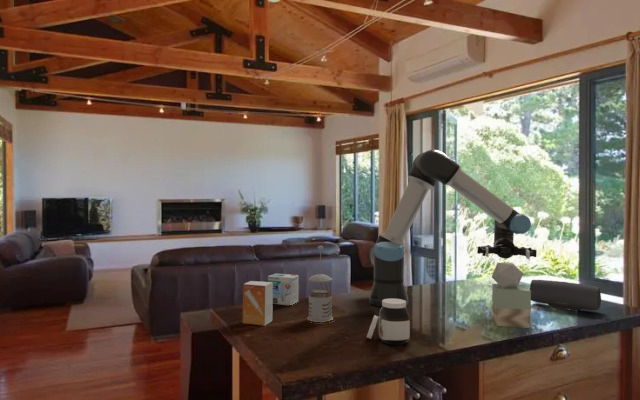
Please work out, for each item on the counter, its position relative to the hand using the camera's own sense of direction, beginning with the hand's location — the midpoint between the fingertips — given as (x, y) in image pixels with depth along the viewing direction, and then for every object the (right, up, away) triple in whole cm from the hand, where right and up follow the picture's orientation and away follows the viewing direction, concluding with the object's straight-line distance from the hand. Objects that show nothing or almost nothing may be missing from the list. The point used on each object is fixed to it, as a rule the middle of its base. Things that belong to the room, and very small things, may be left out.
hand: (507, 253), depth 162 cm
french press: (-66, -22, -6) cm, 70 cm away
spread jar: (-47, -22, -30) cm, 60 cm away
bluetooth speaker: (+26, -22, +11) cm, 36 cm away
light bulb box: (-81, -21, +17) cm, 85 cm away
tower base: (-3, -22, -10) cm, 24 cm away
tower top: (-3, -16, -9) cm, 19 cm away
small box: (-87, -21, -11) cm, 90 cm away
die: (-4, -10, -9) cm, 15 cm away
